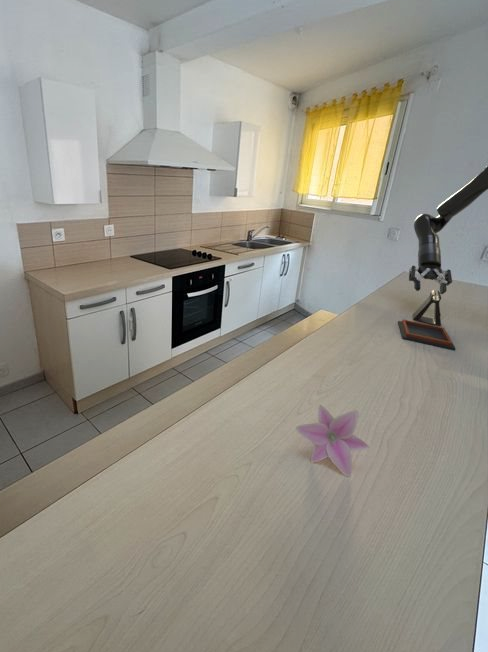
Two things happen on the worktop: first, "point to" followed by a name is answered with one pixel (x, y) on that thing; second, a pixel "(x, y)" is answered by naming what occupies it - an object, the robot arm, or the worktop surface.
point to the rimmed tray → (425, 334)
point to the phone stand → (422, 309)
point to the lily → (334, 438)
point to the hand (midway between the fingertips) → (430, 291)
